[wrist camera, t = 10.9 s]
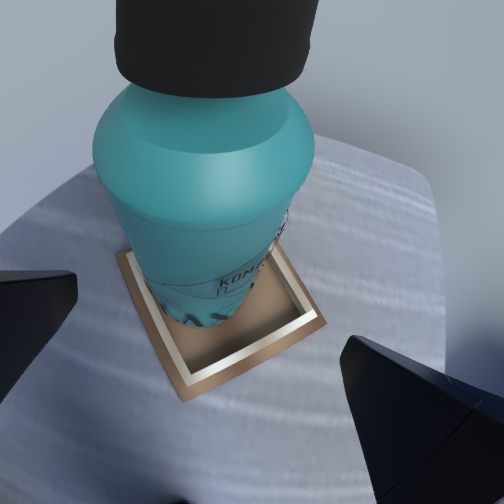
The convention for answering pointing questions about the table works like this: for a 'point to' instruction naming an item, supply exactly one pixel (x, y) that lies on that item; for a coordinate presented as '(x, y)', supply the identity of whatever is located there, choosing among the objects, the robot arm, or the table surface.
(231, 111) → the beverage bottle
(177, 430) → the table surface
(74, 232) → the table surface
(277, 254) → the tray
